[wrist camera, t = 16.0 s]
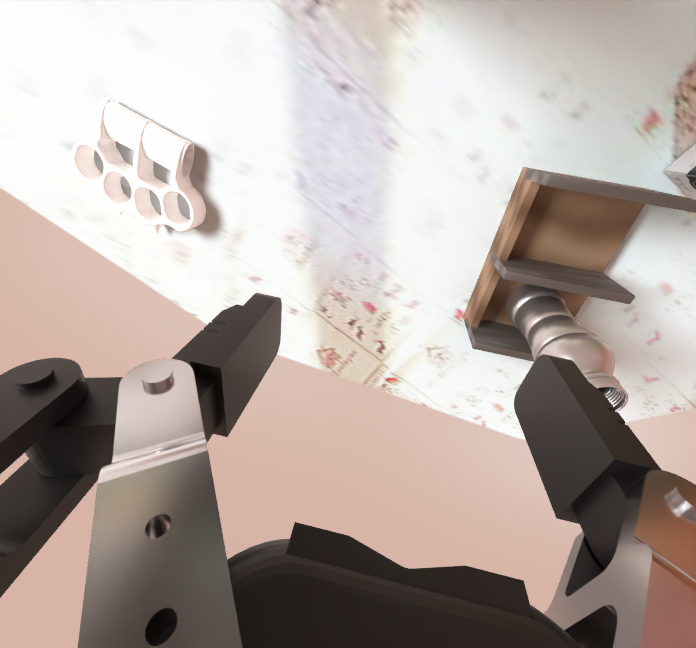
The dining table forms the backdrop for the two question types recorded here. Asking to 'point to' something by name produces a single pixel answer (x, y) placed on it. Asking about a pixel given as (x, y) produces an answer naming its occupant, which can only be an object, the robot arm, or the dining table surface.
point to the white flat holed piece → (139, 167)
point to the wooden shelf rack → (555, 249)
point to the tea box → (684, 172)
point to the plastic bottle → (563, 337)
